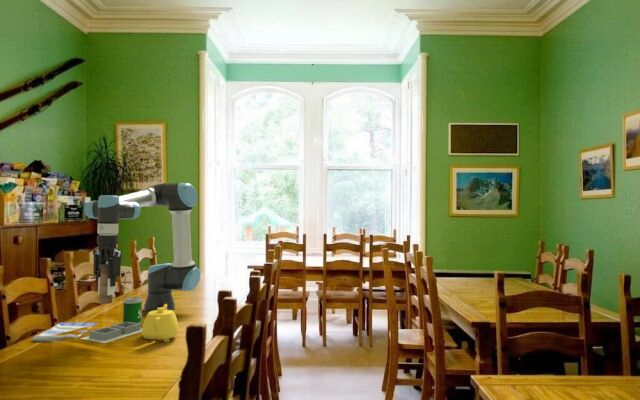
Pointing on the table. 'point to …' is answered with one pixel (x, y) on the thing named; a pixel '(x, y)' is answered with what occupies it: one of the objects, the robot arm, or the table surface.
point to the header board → (114, 332)
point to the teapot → (160, 324)
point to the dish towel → (60, 328)
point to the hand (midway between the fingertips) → (106, 294)
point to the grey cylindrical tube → (104, 285)
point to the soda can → (132, 310)
